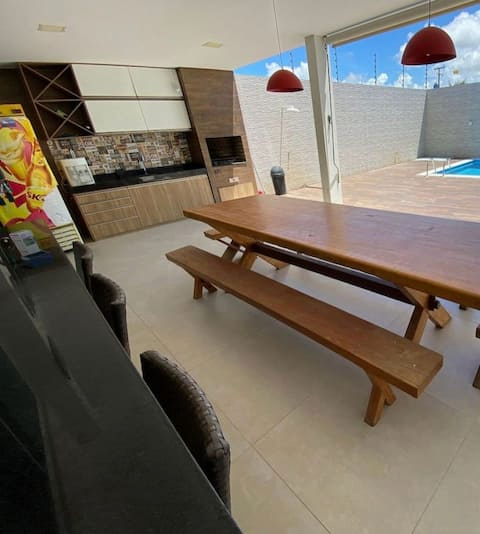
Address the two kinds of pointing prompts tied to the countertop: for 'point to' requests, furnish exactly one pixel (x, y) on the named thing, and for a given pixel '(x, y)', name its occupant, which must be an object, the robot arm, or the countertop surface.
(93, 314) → the countertop surface
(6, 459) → the countertop surface
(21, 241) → the syrup box
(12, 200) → the robot arm
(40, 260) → the holder
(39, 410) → the countertop surface
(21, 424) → the countertop surface
